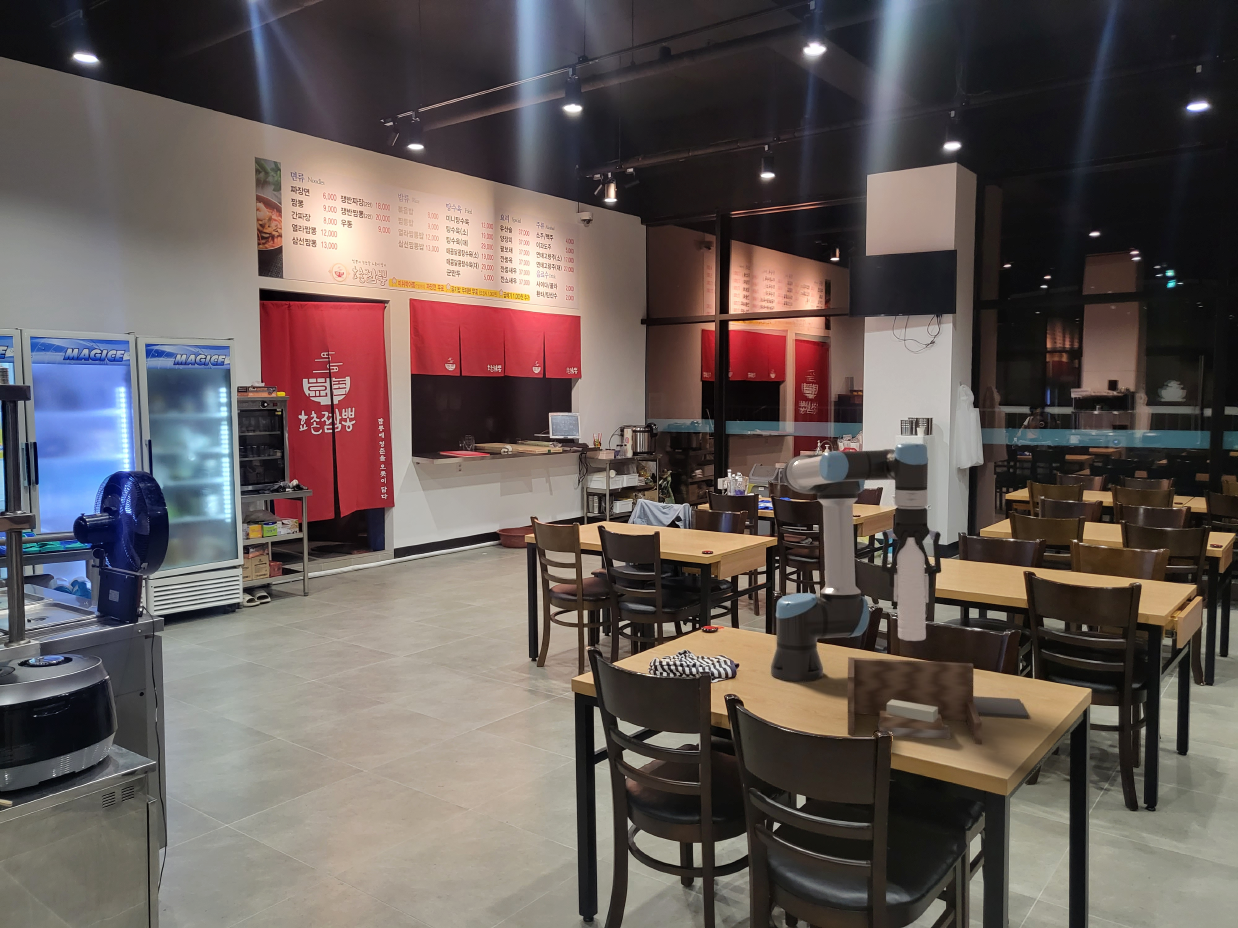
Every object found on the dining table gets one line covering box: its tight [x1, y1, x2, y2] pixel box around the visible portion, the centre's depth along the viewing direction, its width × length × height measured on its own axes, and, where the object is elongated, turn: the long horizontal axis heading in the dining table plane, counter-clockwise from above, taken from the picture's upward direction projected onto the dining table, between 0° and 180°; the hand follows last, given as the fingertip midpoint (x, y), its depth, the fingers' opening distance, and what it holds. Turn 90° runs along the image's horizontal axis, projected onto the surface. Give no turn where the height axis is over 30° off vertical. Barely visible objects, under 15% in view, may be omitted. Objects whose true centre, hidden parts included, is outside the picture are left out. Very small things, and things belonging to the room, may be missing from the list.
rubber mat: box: [973, 695, 1030, 719], centre depth 231 cm, size 13×13×1 cm
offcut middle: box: [879, 711, 943, 730], centre depth 215 cm, size 14×4×2 cm, turn 76°
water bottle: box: [891, 534, 927, 642], centre depth 219 cm, size 9×6×25 cm
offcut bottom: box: [877, 721, 951, 739], centre depth 215 cm, size 16×4×2 cm, turn 79°
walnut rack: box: [847, 656, 983, 745], centre depth 219 cm, size 30×18×14 cm, turn 75°
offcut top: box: [887, 699, 938, 722], centre depth 214 cm, size 11×4×2 cm, turn 55°
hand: (910, 600), depth 219 cm, fingers closed on water bottle, 6 cm apart
